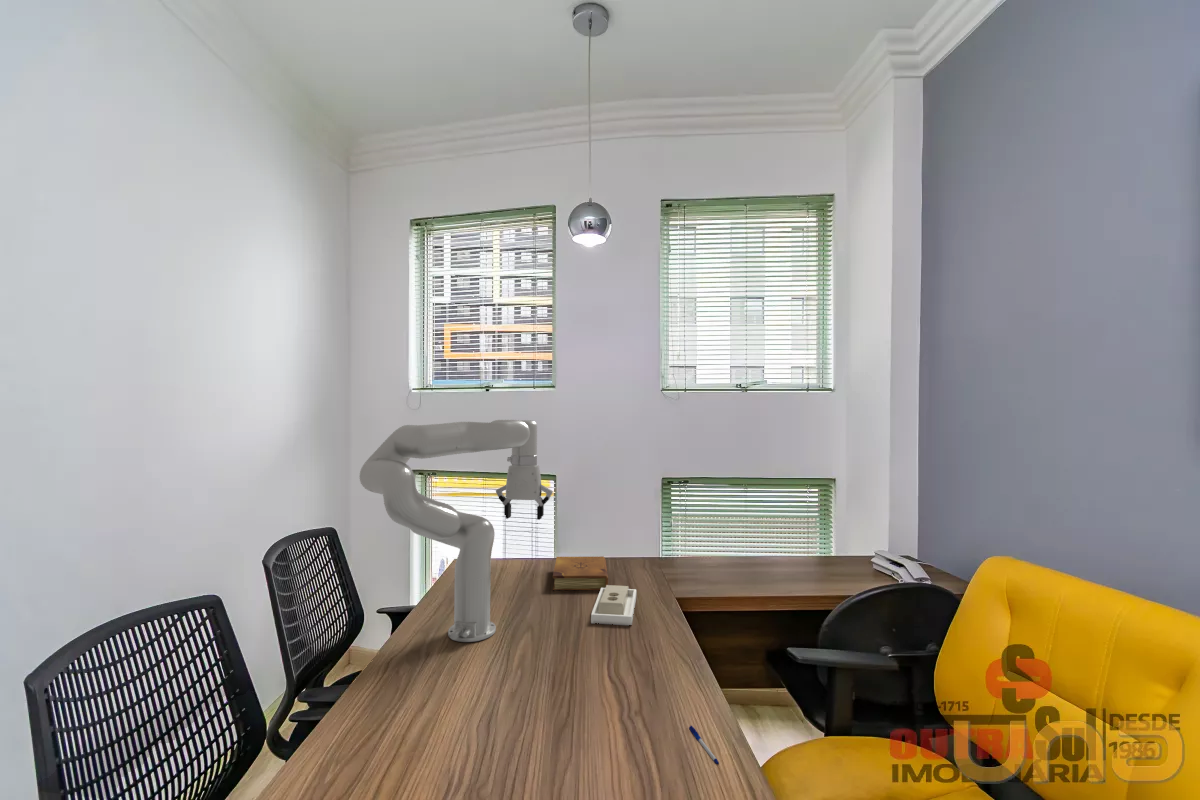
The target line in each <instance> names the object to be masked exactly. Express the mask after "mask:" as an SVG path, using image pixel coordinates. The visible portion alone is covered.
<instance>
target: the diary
mask: <svg viewBox="0 0 1200 800" xmlns="http://www.w3.org/2000/svg"><path fill="white" fill-rule="evenodd" d="M606 559H607V558H605V557H604V556H556V559H555V564H554V567H553V572H552V579H554V580H553V581H554V582H553V587H552V591H553V590H600V589H601V588H606V585H609V574H608V567H607V560H606Z"/></svg>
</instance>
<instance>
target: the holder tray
mask: <svg viewBox="0 0 1200 800" xmlns="http://www.w3.org/2000/svg"><path fill="white" fill-rule="evenodd" d="M604 590H605V588H601V589H600V591H598V592H599V593H598V595H597V598H596V601H595V602H594V606H593V607H592V611H591V615H590V623H591V624H595V623H597V625H612V624H613V626H615V625H616V626H629V625H633V621H634V615H633V614H634V613H635V609H634V608H635V607H636V601H637V589H633V588H632V589H631V588H628V600H627V604H626V608H625V613H624V615H612V614H599V602H600V600H601V597H602V594H603V592H604ZM598 623H599V624H598Z"/></svg>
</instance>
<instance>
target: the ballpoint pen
mask: <svg viewBox="0 0 1200 800" xmlns="http://www.w3.org/2000/svg"><path fill="white" fill-rule="evenodd" d="M688 729H689V731H690V732H691V733H692V735H693V736H694V737H695V739H696V740H697V741H698V743H699V744H700V745H701V746H702V747H703V749H704V750H705V751H706V753H707V755H708V756H709V757H710V758H711V759H712V761H713V762H714V763H715V764H716V765H719V760H718V758H717V757H716V756H715V754H713V752H712V750H711V749H710V748H709V747H708V746H707V744H706V743H705V742H704V741H703V739H702V738H701V736H700V735H699V732H698V731H697V730H696V728H695V727H694V726H693V725H691V724H690V726H689V727H688Z"/></svg>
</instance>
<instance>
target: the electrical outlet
mask: <svg viewBox="0 0 1200 800" xmlns="http://www.w3.org/2000/svg"><path fill="white" fill-rule="evenodd" d="M628 589H629V585H627V586H626V585H615V584H613V585H612V584H611V585H610V584H608V585H606V588H605V590H604V592H603V594H602V597H601V600H600V602H599V614H612V615H624V613H625V608H626V604H627V600H628Z"/></svg>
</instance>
